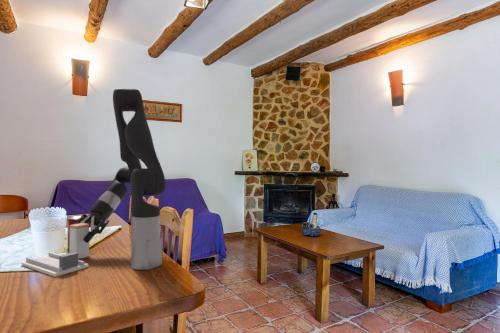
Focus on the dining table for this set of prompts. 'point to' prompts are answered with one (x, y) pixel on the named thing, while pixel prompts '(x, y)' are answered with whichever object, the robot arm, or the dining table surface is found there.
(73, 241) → the block
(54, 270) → the rail board
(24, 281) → the dining table surface
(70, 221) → the soda can
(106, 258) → the dining table surface
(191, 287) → the dining table surface
